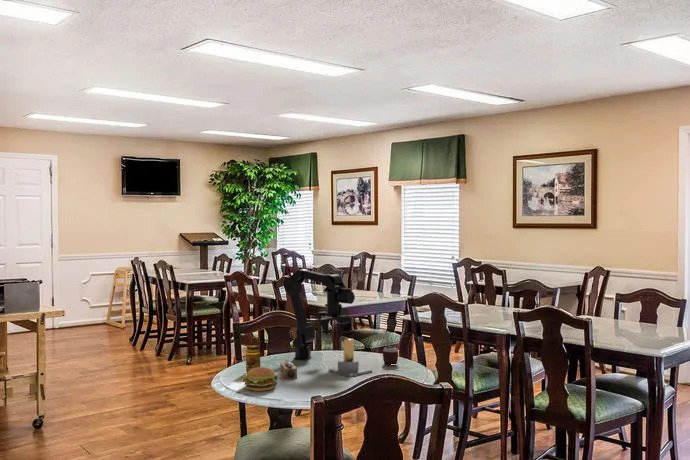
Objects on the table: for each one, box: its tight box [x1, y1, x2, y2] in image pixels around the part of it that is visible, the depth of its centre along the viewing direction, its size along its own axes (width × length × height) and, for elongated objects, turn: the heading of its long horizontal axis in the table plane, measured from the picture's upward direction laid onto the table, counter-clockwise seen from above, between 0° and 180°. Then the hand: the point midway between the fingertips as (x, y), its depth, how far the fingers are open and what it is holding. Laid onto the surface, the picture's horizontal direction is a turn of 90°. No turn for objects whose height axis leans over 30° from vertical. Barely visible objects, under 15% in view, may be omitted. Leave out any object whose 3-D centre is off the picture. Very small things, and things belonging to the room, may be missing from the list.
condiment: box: [245, 344, 261, 374], centre depth 280 cm, size 7×8×12 cm
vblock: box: [328, 357, 373, 378], centre depth 283 cm, size 14×13×5 cm
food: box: [241, 366, 279, 392], centre depth 257 cm, size 14×14×8 cm
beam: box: [279, 361, 298, 380], centre depth 277 cm, size 12×5×4 cm, turn 16°
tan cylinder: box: [343, 338, 355, 361], centre depth 284 cm, size 4×4×13 cm
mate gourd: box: [382, 330, 399, 367], centre depth 297 cm, size 8×8×15 cm
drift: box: [284, 359, 292, 368], centre depth 277 cm, size 9×2×2 cm, turn 16°
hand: (333, 335), depth 297 cm, fingers open, 9 cm apart
